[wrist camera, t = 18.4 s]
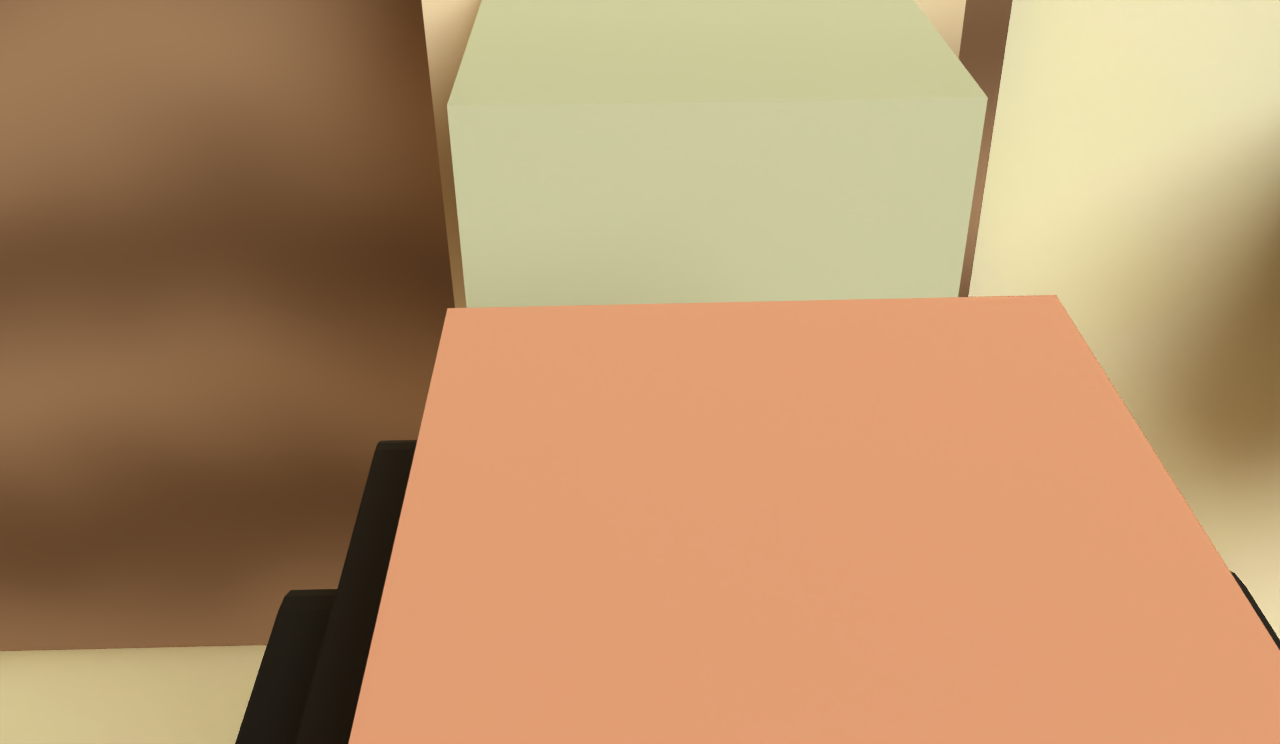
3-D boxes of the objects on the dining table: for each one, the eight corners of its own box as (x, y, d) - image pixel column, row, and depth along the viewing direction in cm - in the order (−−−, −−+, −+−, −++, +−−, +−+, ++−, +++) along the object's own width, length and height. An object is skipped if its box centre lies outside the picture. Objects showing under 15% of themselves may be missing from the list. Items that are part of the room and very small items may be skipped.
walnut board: (910, 601, 31) (918, 629, 30) (-112, 625, 31) (-132, 654, 30) (1035, -286, 20) (1054, -281, 19) (-529, -259, 20) (-579, -253, 19)
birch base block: (876, 273, 25) (917, 379, 21) (484, 281, 25) (463, 389, 21) (918, -147, 21) (979, -98, 17) (445, -139, 20) (412, -87, 17)
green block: (861, 333, 21) (925, 519, 17) (513, 339, 21) (488, 526, 17) (898, -21, 18) (988, 97, 13) (486, -15, 18) (447, 106, 13)
